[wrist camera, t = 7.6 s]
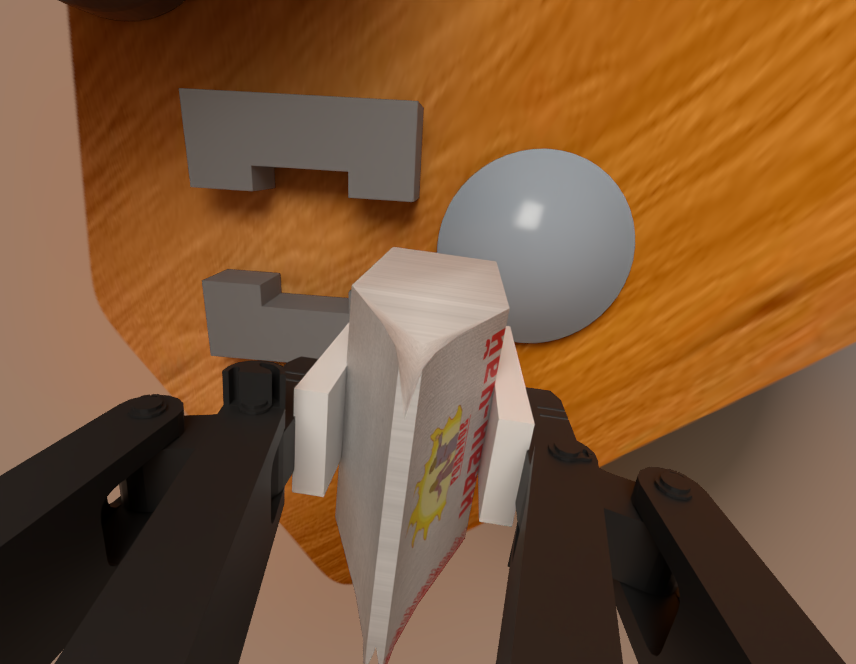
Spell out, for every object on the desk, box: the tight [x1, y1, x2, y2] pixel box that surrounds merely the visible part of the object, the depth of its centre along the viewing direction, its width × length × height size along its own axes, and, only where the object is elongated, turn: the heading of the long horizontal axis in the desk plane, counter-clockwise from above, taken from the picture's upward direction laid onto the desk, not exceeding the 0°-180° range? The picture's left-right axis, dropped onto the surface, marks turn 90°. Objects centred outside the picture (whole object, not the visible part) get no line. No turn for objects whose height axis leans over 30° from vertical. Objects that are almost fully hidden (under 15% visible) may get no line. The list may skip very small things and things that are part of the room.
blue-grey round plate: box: [437, 149, 635, 343], centre depth 31 cm, size 13×13×1 cm
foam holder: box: [179, 88, 424, 362], centre depth 31 cm, size 17×14×4 cm
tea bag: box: [335, 247, 510, 664], centre depth 13 cm, size 4×7×10 cm, turn 173°
